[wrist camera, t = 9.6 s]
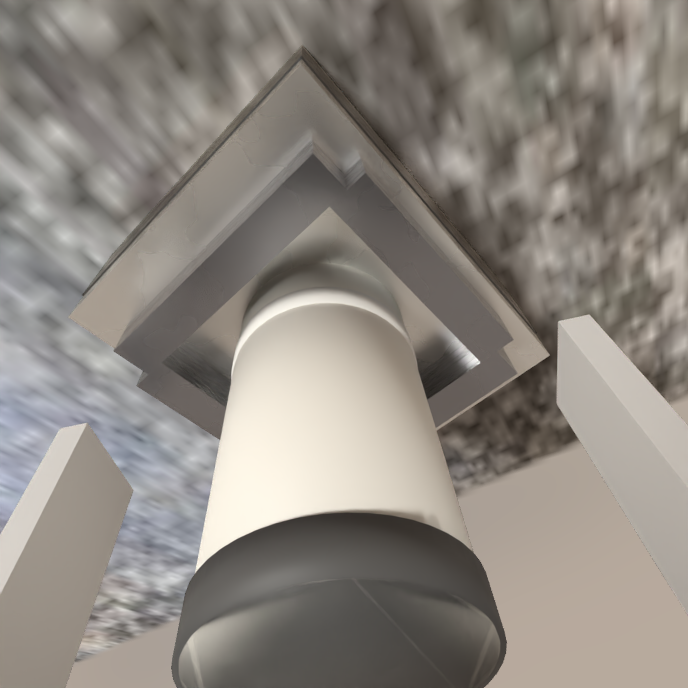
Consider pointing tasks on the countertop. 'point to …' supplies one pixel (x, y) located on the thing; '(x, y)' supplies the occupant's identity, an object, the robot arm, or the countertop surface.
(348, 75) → the countertop surface
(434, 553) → the beige and black cylinder
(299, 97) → the grey square holder base
